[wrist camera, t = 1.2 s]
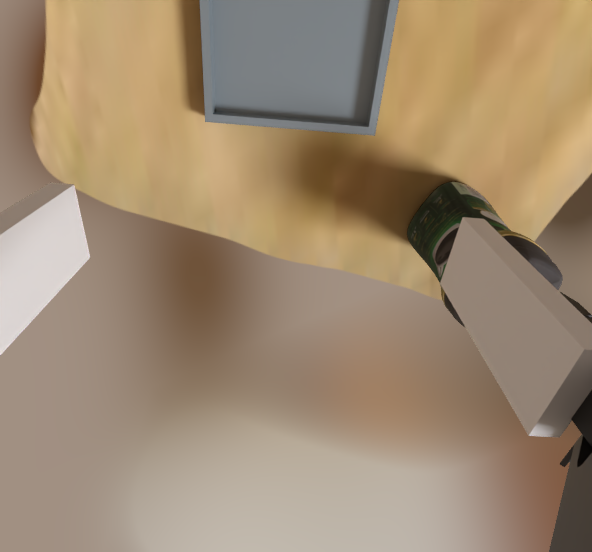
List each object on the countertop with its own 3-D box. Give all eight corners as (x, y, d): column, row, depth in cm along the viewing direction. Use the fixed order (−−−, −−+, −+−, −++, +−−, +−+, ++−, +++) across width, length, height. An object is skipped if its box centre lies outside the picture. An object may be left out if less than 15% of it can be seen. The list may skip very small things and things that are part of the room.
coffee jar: (444, 259, 52) (506, 359, 36) (396, 235, 50) (439, 328, 34) (496, 199, 47) (592, 283, 32) (444, 169, 45) (520, 242, 30)
